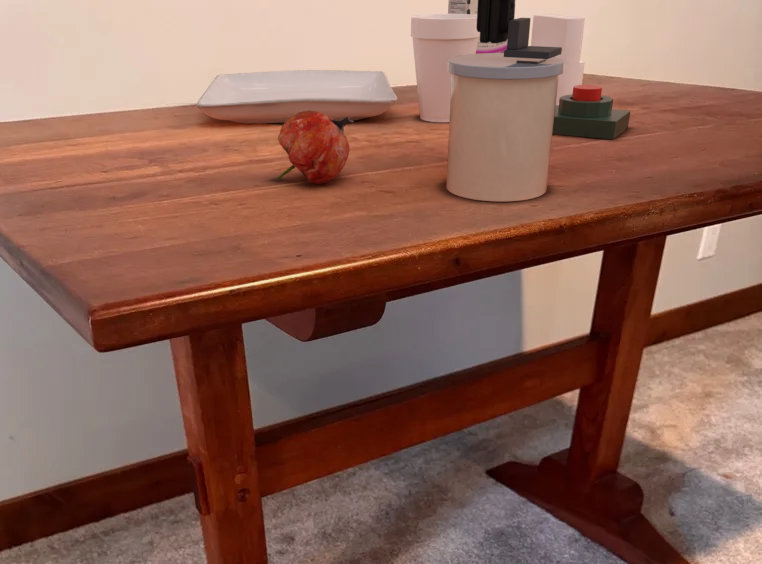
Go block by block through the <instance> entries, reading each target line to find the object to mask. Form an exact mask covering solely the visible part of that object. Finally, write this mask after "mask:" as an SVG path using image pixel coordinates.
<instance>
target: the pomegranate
mask: <svg viewBox="0 0 762 564" xmlns="http://www.w3.org/2000/svg"><path fill="white" fill-rule="evenodd" d="M354 122H355V120H351V119H350V118H349V117H346V118H344V119H342V120H340V121H335V120H333V119H332V118H330V117H328V116H327V115H324V114H322V113H320V112H317V111H302V112H298V113H297V114H295V115H294V116H292V117H291V118H290V119H288V120H287V121H286V122H285V123H284V124H283V125H282V126H281V128H280V131H279V134H278V137H277V141H278V143H279V145H280V146H281V147H282V149H283V150H284V151H285V152H286V155H287V157H288V160H289V162H290V163H291V164H292V165H291V166H290V167H288V168H287V169H286V170H285V171H284V172H282V174H280V175H278V177H276V179H277V181H279V180H281V179H282V178H283V177H284V176H286V175H287V174H289V173H290V172H291V171H292V170H294V169H297V170H298V171H299V172H301V174H302V175H303V176H304V177H305V179H306V180H307V181H308V182H310V183H311V184H318V185H323V184H326V183H328V182H329V181H332V180H333V179H335V178H336V177H337V176H338V175H339V174H340V172H341V171H342V170H343V168H344V167H345V166H346V164H347V161H348V158H349V155H350V151H351V150H350V143H349V140H348V137H347V136H346V135H345V131H344V130H345V129H344V128H345V126H347V125H348V124H353V123H354Z"/></svg>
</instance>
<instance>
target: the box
mask: <svg viewBox="0 0 762 564" xmlns="http://www.w3.org/2000/svg"><path fill="white" fill-rule="evenodd" d="M613 103H614V98H613V97H611V96H607V95H602V94H601V100H598V101H579V100H573V99H572V95H564V96H562V97H560V100H559V105H556V107H555V116H554V125H553V134H552V135H557V136H558V135H560V136H570V137H578V138H579V137H580V138H591V139H602V140H612V141H613V140H615V139H617V137H619V136H621V134H622V133H624V132H625V131H626V130H627V129H628V128H629V124H630V117H631V110H624V109H613Z"/></svg>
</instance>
